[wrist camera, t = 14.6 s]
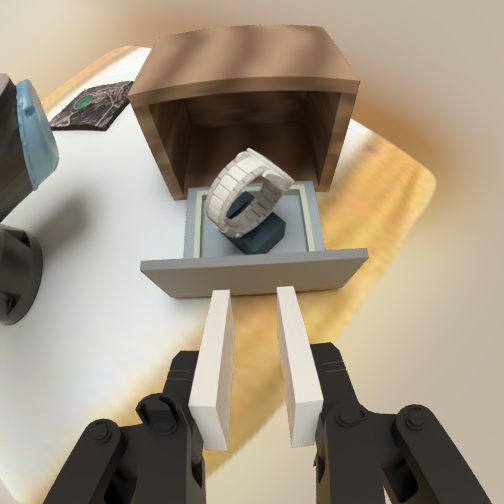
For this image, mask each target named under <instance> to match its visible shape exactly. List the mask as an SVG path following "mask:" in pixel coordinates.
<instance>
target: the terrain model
mask: <svg viewBox="0 0 504 504" xmlns="http://www.w3.org/2000/svg"><path fill="white" fill-rule="evenodd" d="M133 83H134V82H133V81H126V82H119V83H115V84H108V85H101V86H96V87H92V88H89V89H87V90H86V89H84V90H85V91H83V92H82V93H80V94H79V95H78V96H77V97H76V98H74V100H72V102H70V103H69V104H68V105H67V106H66V107H65V108H64V109H63V110H62V111H61V112H60V113H59V114H58V115H56V116H55V117H54V118H53V119H52V120H51V121H50V122H49V125H50V127H51V130H52V131H61V130H93V131H107V129H108V128H109V127H110V125H111V124H112V123H113V122H114V120H115V119H116V118H117V117H118V115H119V114H120V113H121V112H122V111H123V110H124V108H125V107H126V106H127V105H128V104H129V103H130V101H129V99H128V96H127V95H128V93H129V91H130V89H131V87H132V85H133Z"/></svg>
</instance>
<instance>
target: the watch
mask: <svg viewBox="0 0 504 504" xmlns="http://www.w3.org/2000/svg"><path fill="white" fill-rule="evenodd" d="M230 176H231V177H230ZM258 176H260V177H261V178H263V179H264V182H263V184H262V186H261V190H259V192H258V194H257V195H256V197H257V198H256V197H254V196H252V195H251V194H250V193H249V192H247V191H245V192H243V193H242V194H241V195H240V196H239V197H237V196H238V193H240V192H241V191H242V190H243V189H244V188H245V187H246V184H249V183H250V182H251V181H253V180H254V179H255V177H258ZM219 178H220V179H221V180H220V179H219ZM234 179H235V180H234ZM238 182H239V183H238ZM294 183H295V181H294V180H293V179H292V178H291V177H290V176H289V175H288V174H287V173H286V172H284V171H283V170H282V169H281V168H279V167H278V166H277V165H275V164H274V163H273V162H271V161H270V160H269V159H267V158H266V157H264V156H263V155H261V154H260V153H258V152H256V151H254V150H252V149H250V148H248V149H247V152H246V151H244V152H241V153H239V154H238V155H237V157H236V158H235V159H234V160H233V161H231V162H230V163H229V164H228V165H227V166H226V167H225V168H224V169H223V170H222V171H221V172H220V174H219V175H218V177H217V178H216V179H215V181H214V182H213V184H212V186H211V187H212V188H210V190H209V193H208V196H207V199H206V203H205V212H206V215H207V216H206V218H207V219H208V220H209V221H210V222H211V223H213V224H214V225H215V226H216V227H217V228H218V229H219V231H220V232H221V233H222V234H223V235H224V236H225V237H226V238H227V239H228V240H229V241H231V242H232V243H233V244H234V245H235V246H236V247H237V248H238V249H239V250H240V251H242V252H243V253H244V254H245V255H256V254H267V253H268V252H269V251H270V250H271V249H272V248H273V247H274V246H275V245H276V244H277V243H278V242H279V241H280V240H281V239H282V238H283V237H284V234H285V227H286V222H285V221H284V220H282V219H281V218H280V217H279V216H278V215H276V214H275V213H274V212H273V210H274V208H275V207H276V206H277V204H278V202H279V201H280V199H281V198H282V196H283V193H284V192H285V193H286V192H287V191H288V190H289V188H290V187H291V185H292V184H294ZM220 184H221V185H220ZM224 187H225V188H226V189H225V188H224ZM229 191H230V192H231V193H230V192H229ZM235 191H236V192H235ZM236 197H237V198H236ZM267 198H268V199H267ZM271 201H272V202H271ZM270 208H271V209H272V210H271V209H270Z"/></svg>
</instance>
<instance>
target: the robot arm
mask: <svg viewBox="0 0 504 504" xmlns="http://www.w3.org/2000/svg"><path fill="white" fill-rule="evenodd" d="M58 162H59V153H58V148H57V145H56V142H55V139H54V136H53V133H52V130H51V127H50V125H49V122H48V120H47V117H46V114H45V112H44V109H43V107H42V104H41V102H40V100H39V97H38V95H37V93H36V91H35V89H34V87H33V86H32V84H31V82H30V81H29V80H24V81H20V82H19V83H18V84H17V86H15V85H14V84H13V82H12V81H11V79H10V78H9V76H8V75H7V74H0V223H1V222H2V220H3V219H4V218H5V217H6V216H7V215H8V214H9V213H10V212H11V211H12V210H13V209H14V208H15V207H16V206H17V205H18V204H19V203H20V202H21V201H22V200H23V199H25V198H26V197H27V196H28V195H29V194H30V193H31V192H32V191H33V190H34V191H36V190H37V189H38V186H39V185H40V184H41V183H42V182H43V181H44V180H45V179H46V178H47V177H48V176H50V175H51V174H52V173H53V172H54V171H55V169H56V168H57V165H58ZM41 273H42V253H41V249H40V246H39V244H38V242H37V240H36V239H35V238H34V237H33V236H31V235H30V234H29V233H28V232H26V231H24V230H22V229H19V228H15V227H11V226H7V225H3V224H0V323H3V324H13V323H16V322H17V321H19V320H20V319H21V318H22V317H23V316H24V315H25V314H26V313H27V311H28V310H29V308H30V306H31V305H32V303H33V301H34V298H35V296H36V293H37V291H38V287H39V284H40V279H41ZM277 333H278V342H279V349H280V357H281V365H282V373H283V380H284V388H285V396H286V405H287V412H288V421H289V429H290V438H291V446H292V448H294V447H302V446H310V445H314V442H315V440H316V446H317V454H316V457H315V461H314V465H313V466H316V491H317V492H316V503H317V504H386V503H385V495H384V488H385V490H386V492H387V494H388V497H389V498H390V501H391V503H392V504H492V503H491V501H490V500H489V498H488V496H487V495H486V493H485V491H484V490H483V488H482V486H481V485H480V484H479V482H478V480H477V478H476V477H475V475H474V474H473V472H472V470H471V469H470V467H469V466H468V464H467V463H466V461H465V460H464V458H463V457H462V455H461V453H460V452H459V450H458V449H457V447H456V446H455V444H454V443H453V442H452V440H451V439H450V437H449V436H448V434H447V433H446V431H445V430H444V428H443V427H442V425H441V424H440V423H439V421H438V420H437V418H436V417H435V416H434V414H433V413H432V412H431V411H430V410H429V409H428V408H427V407H424V406H422V405H416V404H412V405H408V406H405V407H404V408H402V409H401V410H400V411H399V413H398V414H379V413H373V412H371V411H368V410H367V409H366V408H364V407H363V406H362V405H361V404H360V403H359V402H358V400H357V398H356V395H355V392H354V389H353V386H352V384H351V381H350V378H349V375H348V373H347V370H346V367H345V365H344V362H343V360H342V357H341V354H340V352H339V350H338V349H337V348H336V347H335V346H334V345H333V344H332V343H331V342H328V343H319V344H310V345H309V341H308V337H307V334H306V330H305V326H304V323H303V319H302V315H301V312H300V308H299V305H298V301H297V297H296V294H295V290H294V287H293V286H286V287H277ZM234 345H235V332H234V323H233V315H232V306H231V297H230V290H213V294H212V298H211V302H210V307H209V311H208V315H207V320H206V324H205V329H204V333H203V338H202V342H201V347H200V351H180V352H179V353H178V354H177V355H176V356H175V357H174V358H173V360H172V363H171V366H170V371H169V373H168V376H167V380H166V383H165V386H164V389H163V393H156V394H151V395H149V396H147V397H144V398H143V399H142V400H141V401H140V402H139V403H138V405H137V407H136V409H135V410H136V412H137V413H138V415H139V417H140V419H141V420H142V422H143V423H142V424H138V425H132V426H124V427H118V425H117V424H116V423H115V422H113V421H111V420H109V419H99V420H95V421H93V422H92V423H90V424H89V425H88V426H87V427H86V428H85V430H84V432H83V433H82V435H81V437H80V438H79V440H78V442H77V443H76V445H75V447H74V448H73V450H72V452H71V454H70V455H69V457H68V459H67V461H66V462H65V464H64V466H63V468H62V469H61V471H60V473H59V475H58V476H57V478H56V480H55V482H54V484H53V485H52V487H51V489H50V491H49V493H48V495H47V497H46V498H45V500H44V502H43V504H206V491H205V462H204V459H203V456H202V450H203V444H204V447H205V449H206V450H228V440H229V423H230V407H231V391H232V375H233V360H234ZM383 486H384V488H383Z"/></svg>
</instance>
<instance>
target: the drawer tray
mask: <svg viewBox="0 0 504 504" xmlns="http://www.w3.org/2000/svg"><path fill="white" fill-rule="evenodd" d="M262 184H263V183H251V184H246V187H245V188H244V189H243V190H242V191H241V192H240V193H238V196H237V197H239V196H240V195H241V194H242V193H243V192H245V191H247V192H249V193H250V194H251V195H252V196H254V197H256V195H257V194H258V192H259V190H261V186H262ZM210 188H212V187H211V186H210V187H199V188H189V189H188V200H187V212H186V225H185V240H184V258H183V259H168V260H150V261H141V265H140V271H141V272H142V273H143V274H145V275H146V276H147V277H148V278H149V279H150V280H151V281H153V282H154V283H155V284H156V285H157V286H158V287H159V288H161V289H162V290H163V291H164V292H165V293H167V294H168V295H169V296H170V297H204V296H212V294H213V290H230V295H249V294H266V293H277V287H286V286H293V287H294V290H295V292H297V291H310V290H322V289H334V288H342V287H343V286H344V285H345V284H346V283H347V282H348V281H349V279H350V278H351V277H352V276H353V275H354V274H355V273H356V271H357V270H358V269H359V268H360V267H361V266H362V265H363V263H364V262H365V261H366V260H367V259H368V258H369V256H368V251H367V248H358V249H341V250H325V245H324V239H323V233H322V228H321V222H320V217H319V211H318V206H317V201H316V196H315V191H314V186H313V181H295V183H294V184H292V185H291V187H290V188H289V190H288V191H287V192H286V193H285V192H284V193H283V196H282V198H281V199H280V201H279V202H278V204H277V206H276V207H275V208H274V210H273V212H274V213H275V214H276V215H278V216H279V217H280V218H281V219H282V220H284V221H285V222H286V227H285V234H284V237H283V238H282V239H281V240H280V241H279V242H278V243H277V244H276V245H275V246H274V247H273V248H272V249H271V250H270V251H269V252H268V253H267V254H256V255H245V254H244V253H243V252H242V251H240V250H239V249H238V248H237V247H236V246H235V245H234V244H233V243H232V242H231V241H229V240H228V239H227V238H226V237H225V236H224V235H223V234H222V233H221V232H220V231H219V229H218V228H217V227H216V226H215V225H214V224H213V223H211V222H210V221H209V220H208V219H207V218H206V216H207V215H206V212H205V203H206V199H207V196H208V193H209V190H210ZM224 188H225V187H224ZM225 189H226V188H225ZM229 192H230V191H229ZM235 192H236V191H235ZM230 193H231V192H230ZM237 197H236V198H237ZM256 198H257V197H256ZM267 199H268V198H267ZM271 202H272V201H271ZM270 209H271V208H270ZM271 210H272V209H271Z"/></svg>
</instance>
